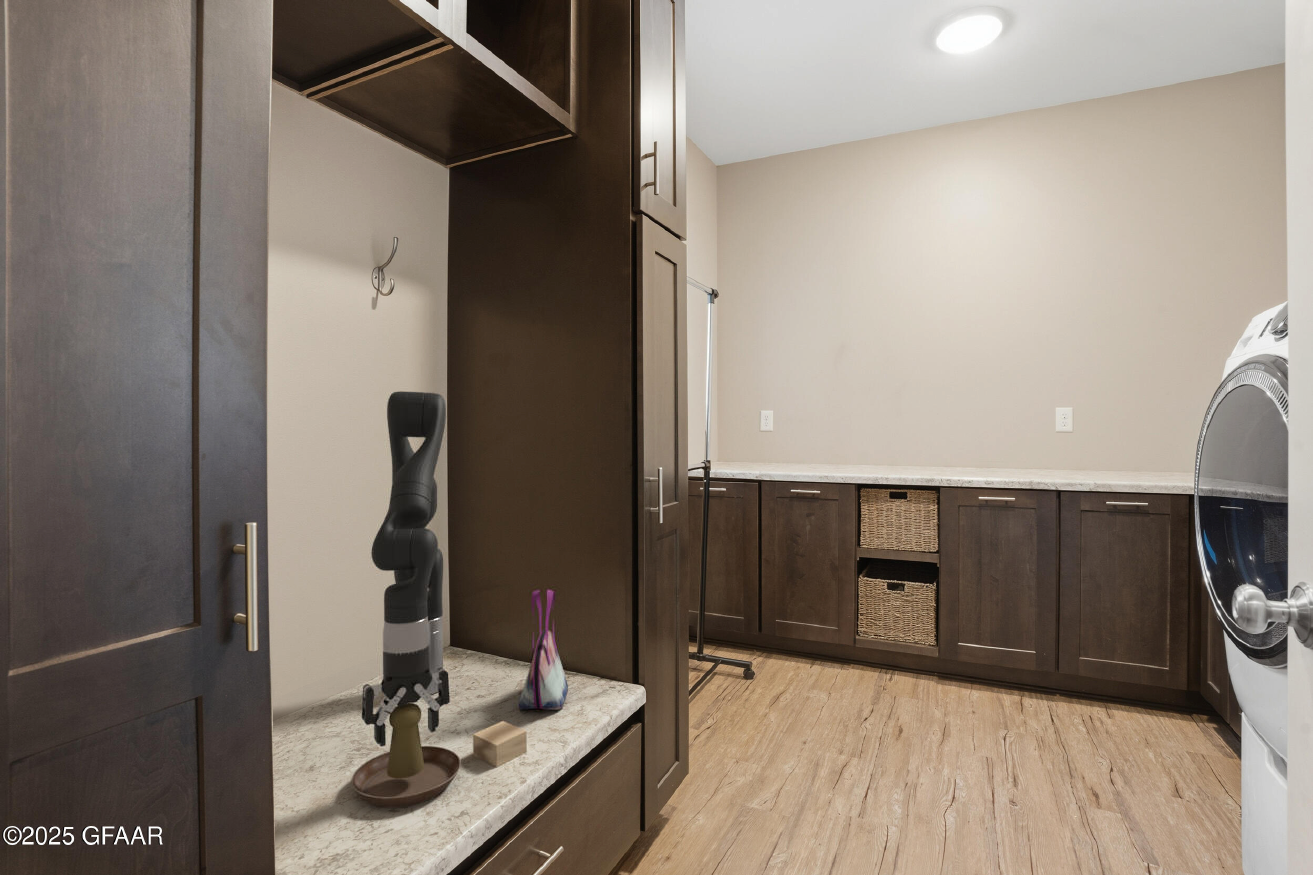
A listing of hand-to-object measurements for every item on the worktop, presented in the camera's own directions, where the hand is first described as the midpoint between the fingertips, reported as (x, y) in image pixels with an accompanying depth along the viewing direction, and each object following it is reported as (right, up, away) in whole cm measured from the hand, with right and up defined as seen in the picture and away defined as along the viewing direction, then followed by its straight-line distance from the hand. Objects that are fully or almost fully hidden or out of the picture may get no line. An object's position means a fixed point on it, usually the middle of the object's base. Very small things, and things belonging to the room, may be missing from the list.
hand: (407, 737), depth 113 cm
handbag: (+18, -8, +35) cm, 40 cm away
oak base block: (+14, -8, +10) cm, 19 cm away
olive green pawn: (0, -6, 0) cm, 6 cm away
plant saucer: (0, -9, 0) cm, 9 cm away
